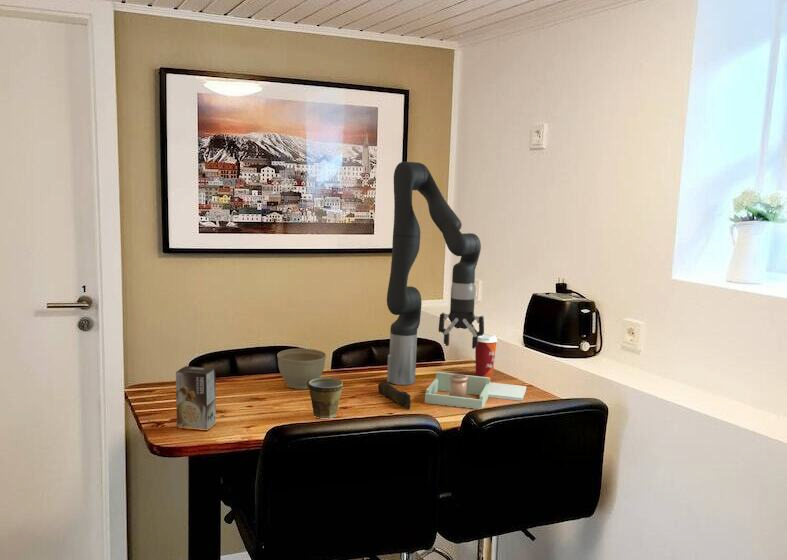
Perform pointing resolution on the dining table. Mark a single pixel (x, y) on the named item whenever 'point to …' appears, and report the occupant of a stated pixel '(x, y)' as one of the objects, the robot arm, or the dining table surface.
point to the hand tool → (395, 394)
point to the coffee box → (195, 397)
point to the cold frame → (443, 384)
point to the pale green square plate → (506, 391)
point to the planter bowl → (300, 366)
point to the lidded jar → (458, 385)
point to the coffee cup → (485, 355)
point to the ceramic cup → (325, 396)
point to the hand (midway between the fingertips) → (460, 346)
